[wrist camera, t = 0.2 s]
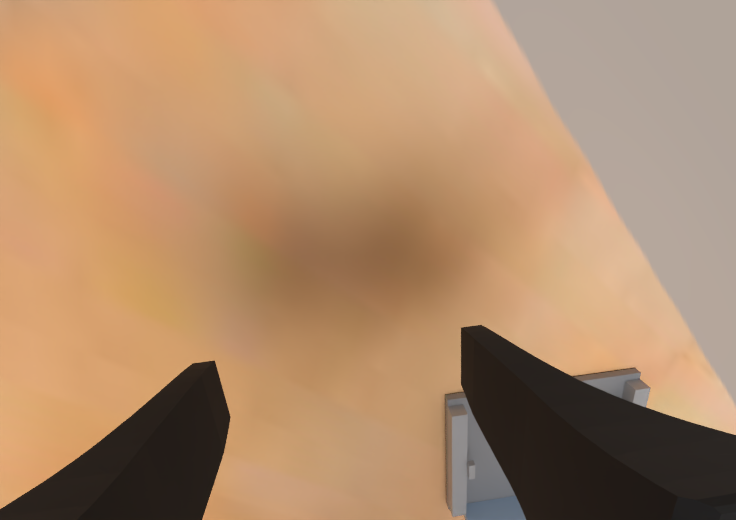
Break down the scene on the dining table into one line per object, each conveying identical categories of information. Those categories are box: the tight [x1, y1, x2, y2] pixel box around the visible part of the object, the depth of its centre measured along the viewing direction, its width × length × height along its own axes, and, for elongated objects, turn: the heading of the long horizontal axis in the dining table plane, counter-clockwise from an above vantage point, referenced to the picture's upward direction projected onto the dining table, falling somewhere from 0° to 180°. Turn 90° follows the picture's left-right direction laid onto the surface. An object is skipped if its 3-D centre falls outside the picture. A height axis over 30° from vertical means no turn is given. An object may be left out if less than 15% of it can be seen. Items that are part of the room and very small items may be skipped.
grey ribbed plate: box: [445, 368, 650, 520], centre depth 25 cm, size 10×13×3 cm
